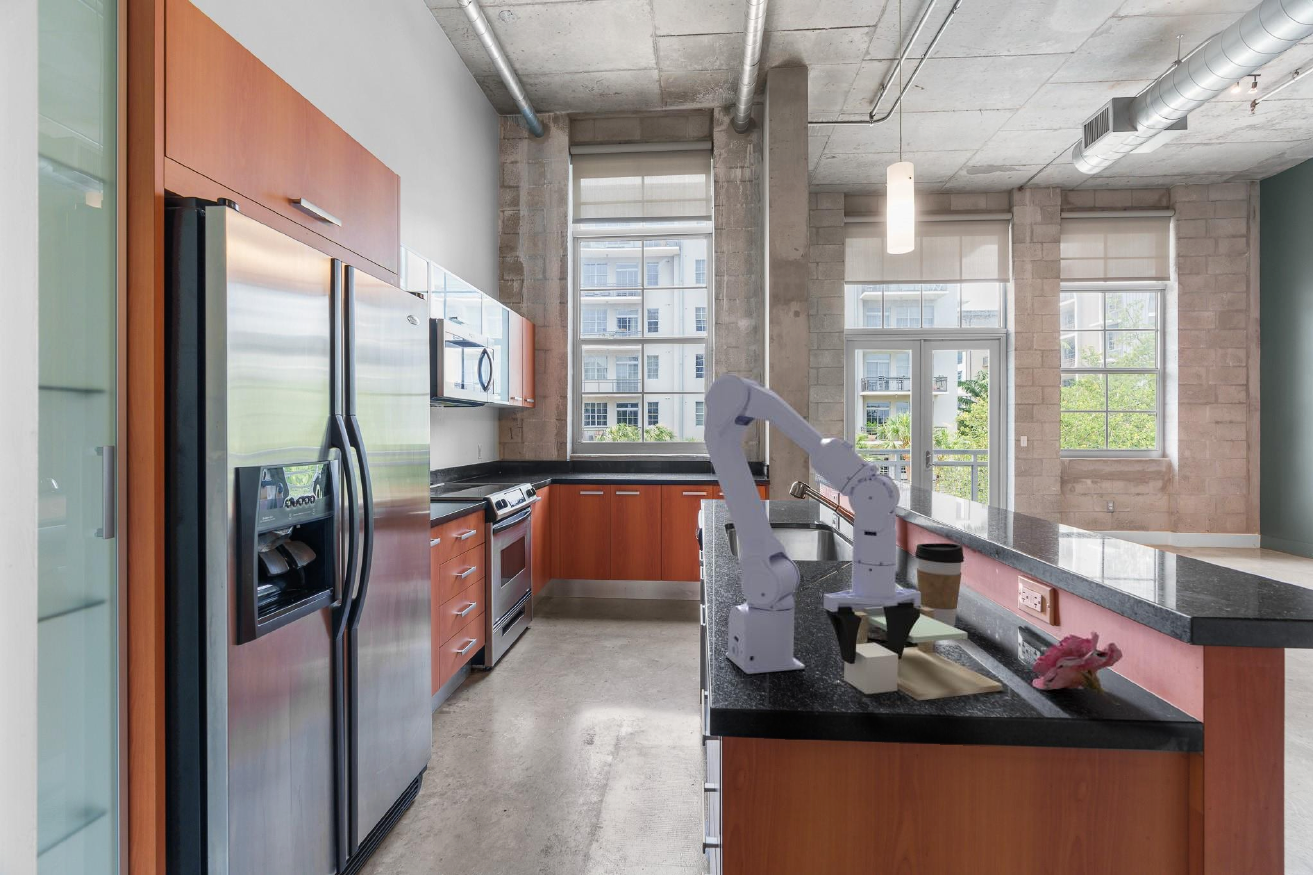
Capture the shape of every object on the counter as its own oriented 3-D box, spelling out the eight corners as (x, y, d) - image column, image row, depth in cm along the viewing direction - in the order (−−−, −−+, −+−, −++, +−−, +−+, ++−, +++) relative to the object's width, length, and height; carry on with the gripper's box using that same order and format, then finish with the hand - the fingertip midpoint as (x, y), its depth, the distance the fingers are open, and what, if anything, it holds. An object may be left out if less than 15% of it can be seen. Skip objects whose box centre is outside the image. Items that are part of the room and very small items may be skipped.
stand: (918, 700, 82) (919, 643, 82) (846, 658, 97) (847, 610, 97) (1001, 690, 86) (1003, 636, 86) (920, 651, 101) (921, 605, 101)
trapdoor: (912, 650, 86) (913, 629, 86) (854, 622, 99) (854, 603, 99) (967, 645, 89) (967, 625, 89) (903, 618, 102) (903, 600, 102)
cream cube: (865, 694, 83) (866, 657, 83) (844, 680, 88) (845, 645, 88) (897, 691, 85) (898, 654, 85) (874, 677, 90) (874, 642, 90)
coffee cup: (968, 632, 112) (971, 549, 112) (919, 629, 113) (921, 547, 113) (954, 619, 120) (956, 542, 120) (908, 616, 121) (910, 539, 121)
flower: (1022, 709, 88) (1009, 639, 93) (1096, 720, 87) (1079, 648, 92) (1065, 689, 78) (1047, 613, 84) (1148, 701, 77) (1125, 623, 83)
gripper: (845, 569, 80) (843, 674, 80) (937, 565, 85) (935, 664, 85) (816, 559, 87) (814, 655, 87) (902, 555, 91) (900, 647, 91)
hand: (871, 659), depth 86 cm, fingers open, 7 cm apart
